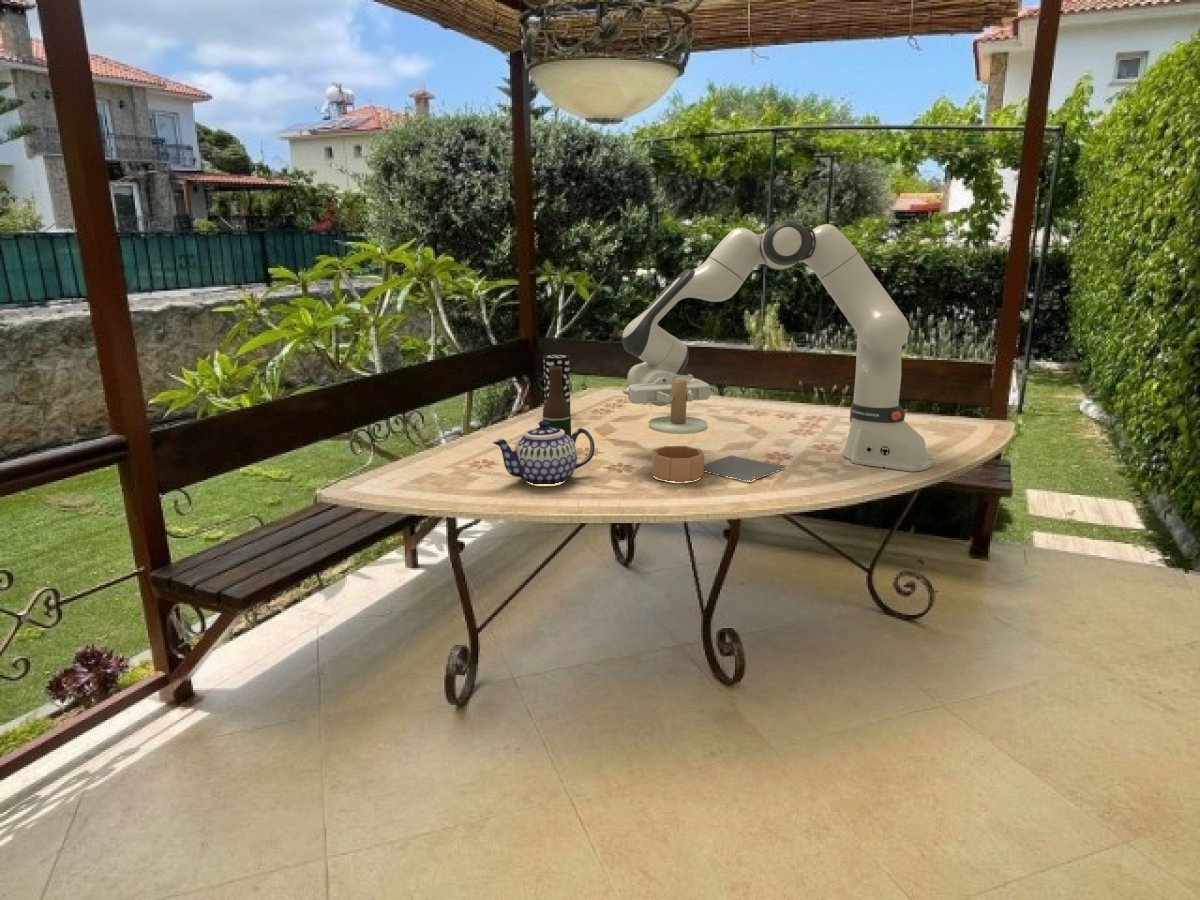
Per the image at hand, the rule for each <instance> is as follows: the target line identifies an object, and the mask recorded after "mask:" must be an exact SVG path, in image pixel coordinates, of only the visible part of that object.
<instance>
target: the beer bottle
mask: <svg viewBox="0 0 1200 900" xmlns="http://www.w3.org/2000/svg"><path fill="white" fill-rule="evenodd" d="M562 371H563V370H562V367H560V366H552V367H549V372H550V386H549V397H548V399H547V400H546V402H545V401H544V404H543V407H542V421H543V420H545V421H548V422H549V426H548V427H551V428H558V429H562V430H564V433H565V434H566V435H568V436H571V435H572V418H571V417H572V416H571V407H570V408H569V405H568V402H567V401H566V399H565V398H564V394H563V385H562Z"/></svg>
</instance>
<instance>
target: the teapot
mask: <svg viewBox="0 0 1200 900" xmlns="http://www.w3.org/2000/svg"><path fill="white" fill-rule="evenodd" d="M538 426H539V427H533V428H530V429H527V430H526V431H524V435H523V436H522V437H521V438H520V439H519V440H517V443H516V445H515V448H514V451H513V450H512V448H511V446H510V445H509V443H508V442H507V440H506V439H504V438H497V439H496V440H494V441H492V444H494V445H496V446H499V448H500V451H501V455H502V459H503V464H504V467H505V470H506V471H507V473H508V474H509V475H510V476H512V477H516V478H521V479H523V481H525V482H526V481H528V482H530V483H533V484H555V483H559V482H563V481H565V480H566V479H567V480H568V479H569V478H570V477H571V476H572V475H573V474H574V472H575V470H577V469H580V468H581V467H583V466H585V465H586V464H587V463H589V462H590V461H591V459H593V456H594V454H595V441H594V439H593V436H592V435H591V433H590V432H589V431H588V430H586V429H585V428H582V427H581V428H577V429H576V430H575V431H574V432H573V433H571V436H568V435H566V434H565V433H564V430H562V429H558V428H551V427H548V426H549V422H548V421H545V420H543V419H542V420H540V421H539V422H538ZM580 434H584V435H585V436H586V437H587V439H588V441H589V452H588V454H587V455H586V457H584V458H583V459H582V460H580V461H578V451H577V447H576V443H577V439H578V437H579V435H580Z"/></svg>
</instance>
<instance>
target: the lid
mask: <svg viewBox="0 0 1200 900" xmlns="http://www.w3.org/2000/svg"><path fill="white" fill-rule="evenodd" d="M671 394H672V395H673V402H671V404H670V416H669V415H667V416H659V417H658V416H657V417H654V418H651V419H650V420H649V421H648V428H649V429H650V430H653V431H655V432H658V433H664V434H673V435H687V434H688V435H689V434H697V433H702V432H705V431H706V430H708V425H709V423H708V421H707V420H705V419H702V418H698V417H693V416H687V401H686V398H687V381H685V380H673V381H672V387H671Z"/></svg>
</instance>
